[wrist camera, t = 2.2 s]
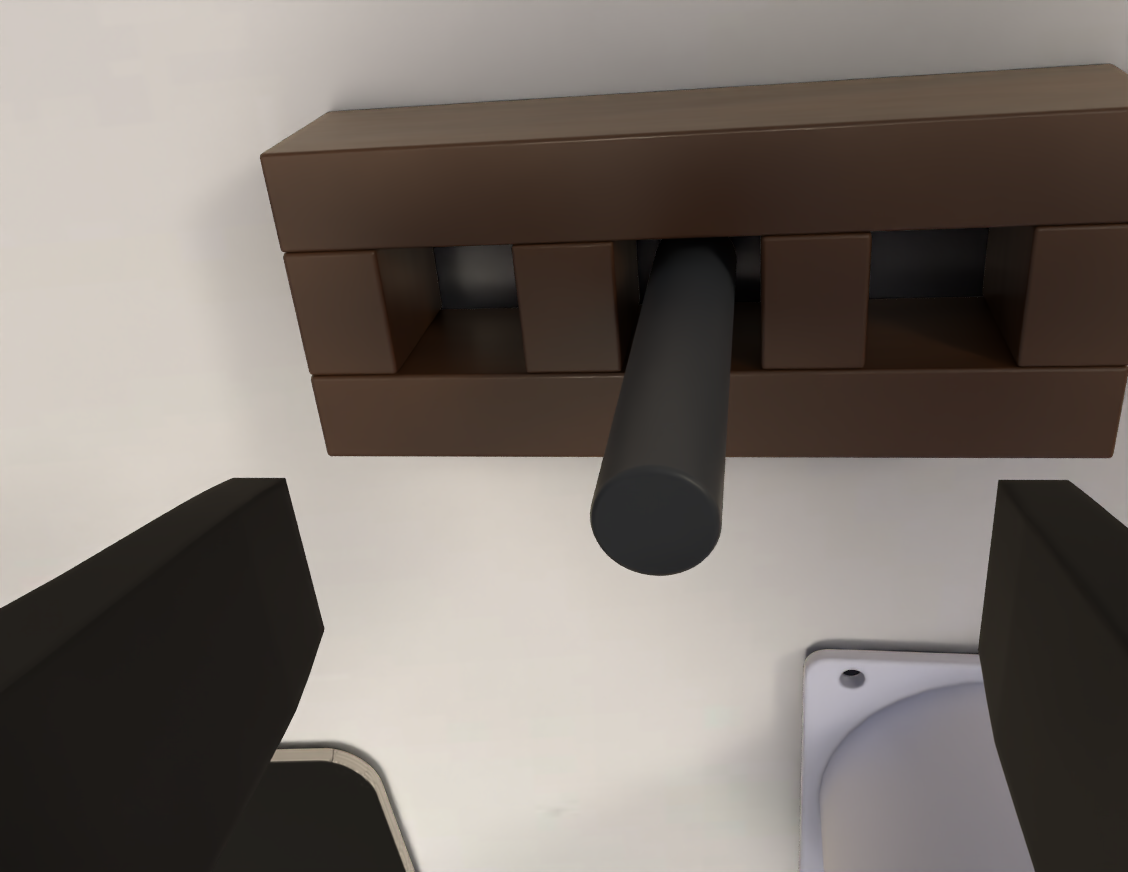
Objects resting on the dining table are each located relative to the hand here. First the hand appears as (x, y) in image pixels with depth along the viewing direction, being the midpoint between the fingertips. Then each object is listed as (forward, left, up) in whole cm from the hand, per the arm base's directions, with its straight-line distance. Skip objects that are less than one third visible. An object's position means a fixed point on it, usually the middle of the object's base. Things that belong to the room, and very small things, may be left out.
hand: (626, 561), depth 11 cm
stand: (0, 0, -10) cm, 10 cm away
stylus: (0, 0, -10) cm, 10 cm away
